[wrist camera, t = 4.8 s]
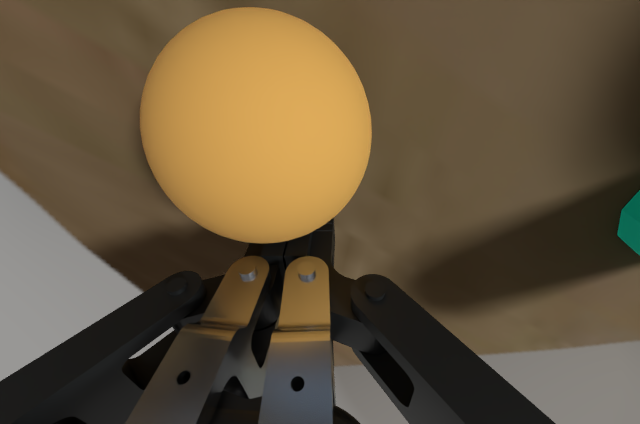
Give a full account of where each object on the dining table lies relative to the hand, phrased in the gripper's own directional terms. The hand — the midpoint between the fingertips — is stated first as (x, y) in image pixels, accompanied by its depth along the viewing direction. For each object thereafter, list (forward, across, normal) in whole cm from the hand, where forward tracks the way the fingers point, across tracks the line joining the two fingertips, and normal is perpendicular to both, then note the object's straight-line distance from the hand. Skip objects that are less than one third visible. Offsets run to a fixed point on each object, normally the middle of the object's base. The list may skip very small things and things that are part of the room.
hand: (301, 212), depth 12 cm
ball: (-2, 0, -4) cm, 5 cm away
